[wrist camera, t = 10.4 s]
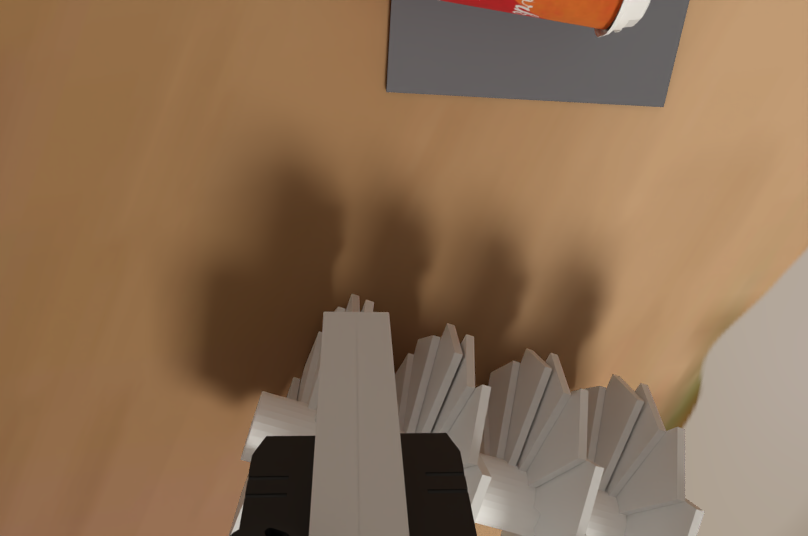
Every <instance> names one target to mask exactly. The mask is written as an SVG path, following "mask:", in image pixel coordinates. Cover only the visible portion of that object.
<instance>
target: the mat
mask: <svg viewBox="0 0 808 536" xmlns="http://www.w3.org/2000/svg"><path fill="white" fill-rule="evenodd" d="M688 4H689V0H651V1H650V4H649V6H648V8H647V10H646V12H645V14H644V15H643V17H642V18H641V19H640V20H639V21H638V22H637V23H636V24H635V25H634V26H632V27H625V28H622V30H621V31H620V32H616V33H615V32H614V31H612V32H611V33H610V34H608V35H605V36H601V37H597V36H596V34H595V30H594V28H591V27H586V26H580V25H575V24H569V23H563V22H558V21H552V20H547V19H541V18H535V17H530V16H524V15H519V14H513V13H507V12H502V11H496V10H490V9H485V8H479V7H474V6H468V5H463V4H457V3H452V2H446V1H441V0H391V17H390V35H389V53H388V71H387V90H386V91H387V92H397V93H416V94H434V95H452V96H470V97H489V98H507V99H525V100H543V101H562V102H580V103H598V104H616V105H635V106H653V107H664V103H665V99H666V95H667V91H668V86H669V82H670V78H671V74H672V70H673V66H674V62H675V58H676V53H677V49H678V45H679V41H680V37H681V33H682V29H683V25H684V21H685V16H686V12H687V8H688Z"/></svg>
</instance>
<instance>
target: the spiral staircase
mask: <svg viewBox="0 0 808 536" xmlns="http://www.w3.org/2000/svg"><path fill="white" fill-rule="evenodd" d="M373 307H374V302H372V301H369V300H366V301H365V303H364V306H363V308H362V311H361V312H373ZM334 312H360V301H359V296H358V295H355V294H351V297H350V300H349V302H348V305H347V308H346V311H345V308H342V307H337V308H336V310H335V311H334ZM440 338H441V339H440ZM321 344H322V332H320V331H319V332H318V335H317V337H316V340H315V342H314V344H313V347H312V349H311V352H310V354H309V357H308V359H307V362H306V364H305V367H304V371H303V375H302V378H301V382H300V379H299V378H296V377H293V380H292V383H291V386H290V389H289V392H288V395H287V397H282V396H279V395H275V394H272V393H268V392H265V391H262V393H261V396H260V399H259V402H258V405H257V408H256V411H255V414H254V417H253V420H252V423H251V427H250V430H249V433H248V436H247V439H246V443H245V446H244V449H243V453H242V456H241V460H244V461H248V462H251V458H252V454H253V453H254V452H255V450H256V449H257V448H258V446H259V445H260V444H261V442H262V441H263V440H264V438H265V437H266V436H315V434H316V419H317V404H318V389H319V374H320V359H321ZM395 383H396V394H397V405H398V416H399V427H400V433H447V434H448V436H449V437H450V438H451V440H452V441H453V442H454V444H455V445H456V446H457V447H458V449H459V450H460V452H461V457H462V462H463V468H464V476H465V478H466V483H467V488H468V493H469V498H470V503H471V508H472V513H473V518H474V524H475V523H479V524H482V525H486V526H490V527H494V528H497V529H501V530H502V532H501V536H697V533H698V530H699V527H700V524H701V521H702V518H703V515H704V511H703V510H702V509H700V508H699V507H697V506H696V505H694V504H693V503H692V502H690V501H689V500H687V499H686V498H685V429H682V428H679V427H676V428H674V429H671V430H668V431H666V430H665V427H664V425H663V422H662V420H661V417H660V415H659V412H658V410H657V407H656V405H655V402H654V400H653V397H652V395H651V392H650V390H649V387H648V385H646V384H642V383H640V385H639V386H638V388H637V389H636V390H635V391H634V390H633V389H632V388H631V387H630V386H629V385H628V384H627V383H626V382H625V381H624V380H623V379H622V378H621V377H620V376H617V375H614V374H613V375H612V377H611V379H610V381H609V384H608V386H607V388H605V387H602V386H596V387H591V388H586V389H581V388H580V389H579V390H576V391H571V393H570V390H569V387H568V384H567V381H566V378H565V375H564V372H563V369H562V366H561V363H560V360H559V357H558V355H557V354H554V353H550V354H549V356H548V358H547V360H546V362H545V361H544V360H543V359H542V358H541V357H540V356H538V355H537V354H536V353H535V352H534V351H533V350H531V349H527V348H526V350H525V353H524V355H523V358H522V361H521V363H520V362H517V361H514V360H513V361H511V362H509V363H508V364H506V365H504V366H502V367H500V368H498V369H496V370H494V371H492V372H491V373H490V379H489V384H488V386H486V385H483V384H482V385H480V386H479V387H477V388H475V357H474V336H471V335H467V334H466V335H465V337H464V339H463V341H462V342H461V344H460V342H459V339H458V335H457V332H456V328H455V325H452V324H449V323H447V325H446V327H445V330H444V332H443V335H442V337H438V336H435V335H432V336H428V337H424V338H421V339H418V341H417V345H416V349H415V352H414V355H413V354H410V353H408V354H407V356H406V357H405V359H404V361H403V362H402V364H401V366H400V367H399V369H398V370H397V372H396V374H395ZM299 384H300V386H299ZM248 475H249V474H248ZM247 481H248V476H247V479H246V482H245V484H244V487H243V490H242V492H241V496H240V499H239V502H238V506H237V509H236V513H235V516H234V519H233V523H232V526H231V530H230V533H229V536H230V535H231V534H232V533H233V532H235V531H237V530H239V526H240V520H241V515H242V509H243V503H244V498H245V492H246V486H247Z"/></svg>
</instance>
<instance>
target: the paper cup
mask: <svg viewBox="0 0 808 536" xmlns="http://www.w3.org/2000/svg"><path fill="white" fill-rule="evenodd" d="M441 1H446V2H452V3H457V4H463V5H468V6H474V7H479V8H485V9H490V10H496V11H502V12H507V13H513V14H519V15H524V16H530V17H535V18H541V19H547V20H552V21H558V22H563V23H569V24H575V25H580V26H586V27H591V28H594V30H595V34H596V36H597V37H601V36H605V35H608V34H610V33H611V32H612V31H614V32H615V33H616V32H620V31H621V30H622V28H625V27H632V26H634V25H635V24H636V23H637V22H638V21H639V20H640V19H641V18H642V17H643V15H644V14H645V12H646V10H647V8H648V6H649V4H650V1H651V0H441Z"/></svg>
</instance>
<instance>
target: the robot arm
mask: <svg viewBox="0 0 808 536" xmlns="http://www.w3.org/2000/svg"><path fill="white" fill-rule="evenodd" d="M230 536H477V534H476V529H475V524H474V518H473V513H472V508H471V503H470V498H469V493H468V488H467V483H466V478H465V476H464V468H463V462H462V457H461V452H460V450H459V449H458V447H457V446H456V445H455V444H454V442H453V441H452V440H451V438H450V437H449V436H448V434H447V433H400V427H399V416H398V405H397V394H396V383H395V372H394V361H393V350H392V339H391V328H390V317H389V312H324V313H323V328H322V344H321V359H320V374H319V389H318V404H317V419H316V434H315V436H266V437H265V438H264V440H263V441H262V442H261V444H260V445H259V446H258V448H257V449H256V450H255V452H254V453H253V454H252V458H251V464H250V469H249V475H248V481H247V486H246V492H245V498H244V503H243V509H242V515H241V520H240V526H239V530H237V531H235V532H233V533H232V534H231V535H230Z"/></svg>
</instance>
